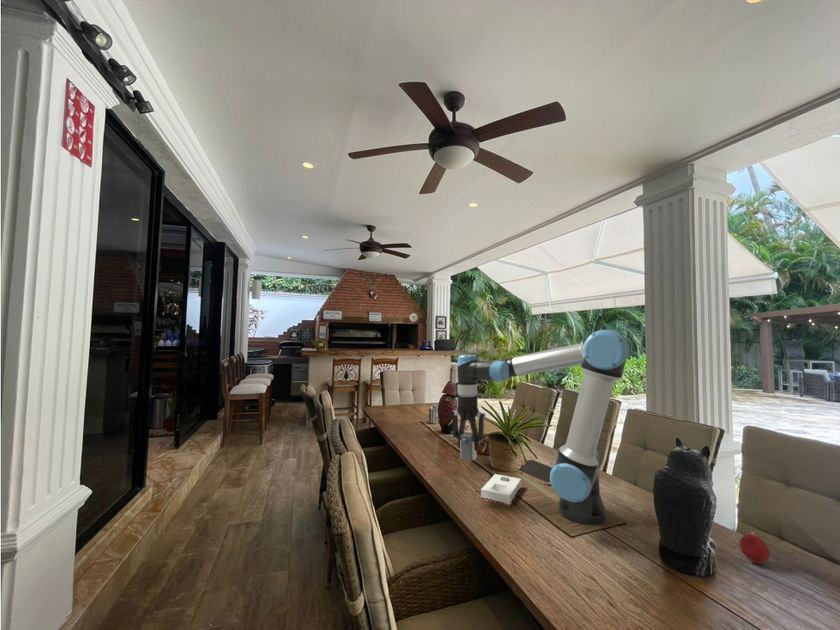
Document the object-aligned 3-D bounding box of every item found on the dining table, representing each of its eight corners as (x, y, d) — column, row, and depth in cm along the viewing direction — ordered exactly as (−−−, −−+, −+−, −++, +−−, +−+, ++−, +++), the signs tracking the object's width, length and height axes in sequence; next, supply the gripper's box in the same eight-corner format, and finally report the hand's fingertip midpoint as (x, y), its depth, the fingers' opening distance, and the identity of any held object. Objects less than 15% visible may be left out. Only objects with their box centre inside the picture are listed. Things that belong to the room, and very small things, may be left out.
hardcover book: (546, 487, 144) (546, 481, 144) (508, 469, 164) (508, 464, 164) (572, 480, 151) (572, 474, 151) (532, 464, 171) (532, 459, 172)
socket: (521, 487, 142) (521, 476, 142) (509, 505, 126) (509, 493, 127) (495, 482, 147) (494, 472, 148) (481, 499, 132) (480, 487, 132)
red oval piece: (761, 572, 90) (758, 539, 90) (735, 558, 95) (733, 528, 96) (776, 568, 91) (773, 536, 92) (750, 555, 97) (747, 525, 97)
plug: (475, 457, 132) (475, 433, 133) (469, 462, 126) (469, 437, 127) (466, 456, 134) (465, 432, 135) (459, 461, 128) (459, 436, 129)
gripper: (492, 395, 132) (493, 458, 130) (451, 392, 140) (451, 451, 138) (485, 398, 126) (487, 464, 124) (443, 395, 134) (443, 457, 132)
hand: (468, 457), depth 131 cm, fingers closed on plug, 4 cm apart
